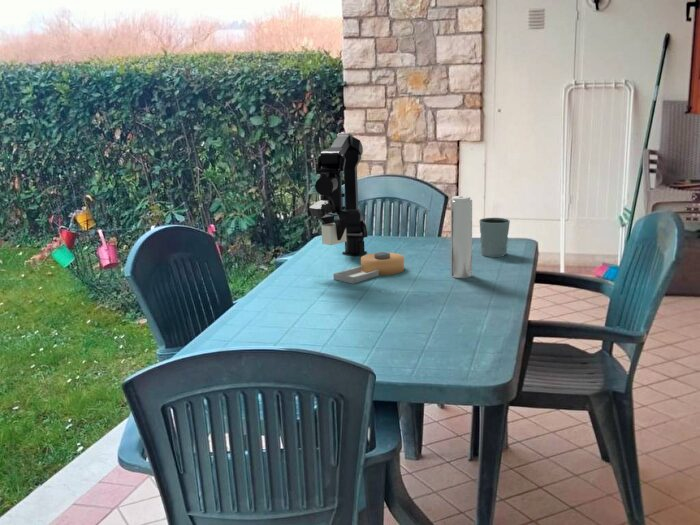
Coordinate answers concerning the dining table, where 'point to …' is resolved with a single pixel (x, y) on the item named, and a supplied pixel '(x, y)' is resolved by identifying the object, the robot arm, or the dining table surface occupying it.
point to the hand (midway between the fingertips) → (334, 239)
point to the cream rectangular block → (331, 234)
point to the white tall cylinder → (461, 237)
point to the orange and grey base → (373, 267)
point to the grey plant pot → (494, 236)
